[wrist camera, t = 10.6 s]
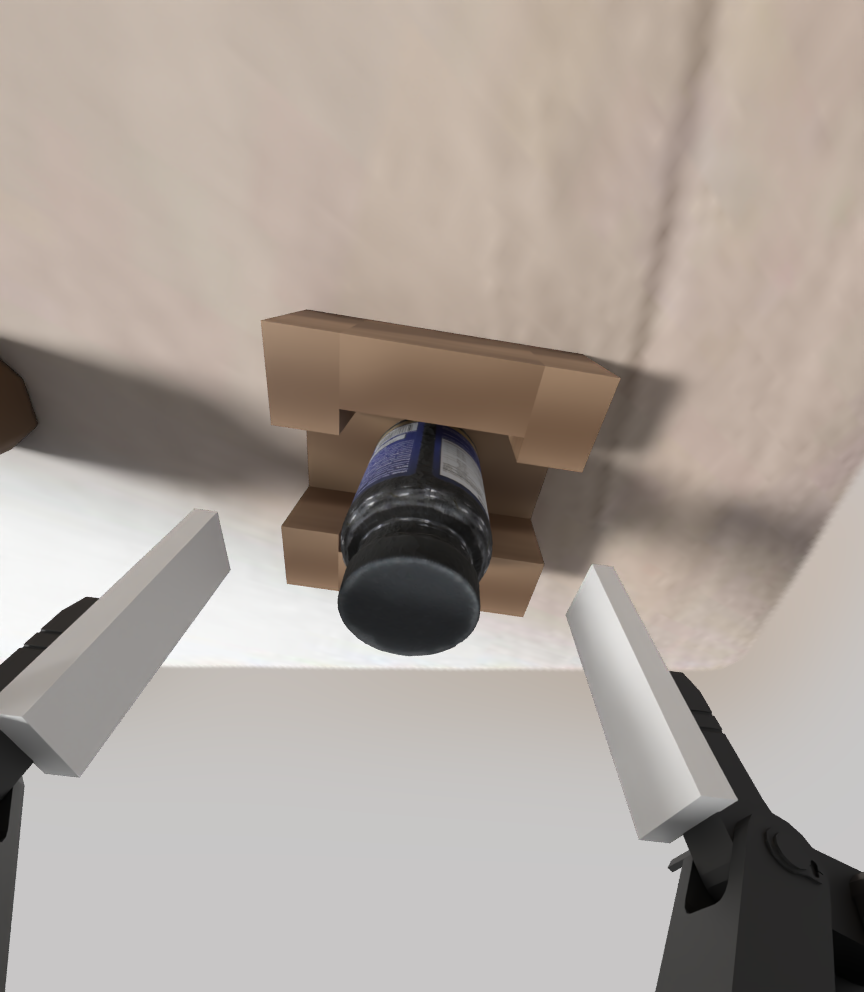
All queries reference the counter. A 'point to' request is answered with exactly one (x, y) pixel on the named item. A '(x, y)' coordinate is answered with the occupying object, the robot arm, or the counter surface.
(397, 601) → the pill bottle
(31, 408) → the beer bottle
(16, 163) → the counter surface
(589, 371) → the socket
